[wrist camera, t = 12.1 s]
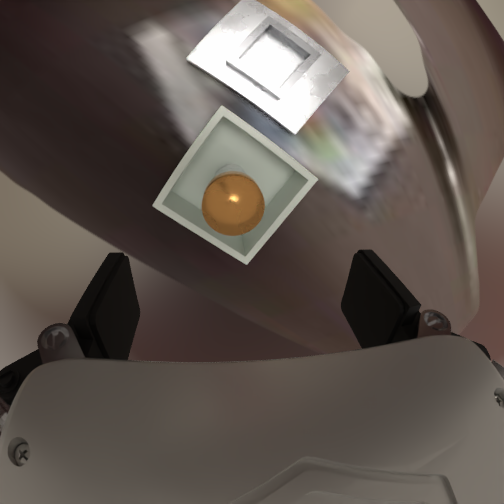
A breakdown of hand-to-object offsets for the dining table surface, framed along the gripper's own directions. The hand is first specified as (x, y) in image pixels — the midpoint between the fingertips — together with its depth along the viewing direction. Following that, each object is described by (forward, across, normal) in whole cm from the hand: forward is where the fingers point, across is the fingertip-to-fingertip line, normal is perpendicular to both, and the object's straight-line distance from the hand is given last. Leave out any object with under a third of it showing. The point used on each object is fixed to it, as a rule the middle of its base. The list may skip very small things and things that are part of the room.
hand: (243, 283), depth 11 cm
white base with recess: (+22, -4, -13) cm, 25 cm away
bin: (+21, -1, +1) cm, 21 cm away
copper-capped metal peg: (+21, 0, +1) cm, 21 cm away
